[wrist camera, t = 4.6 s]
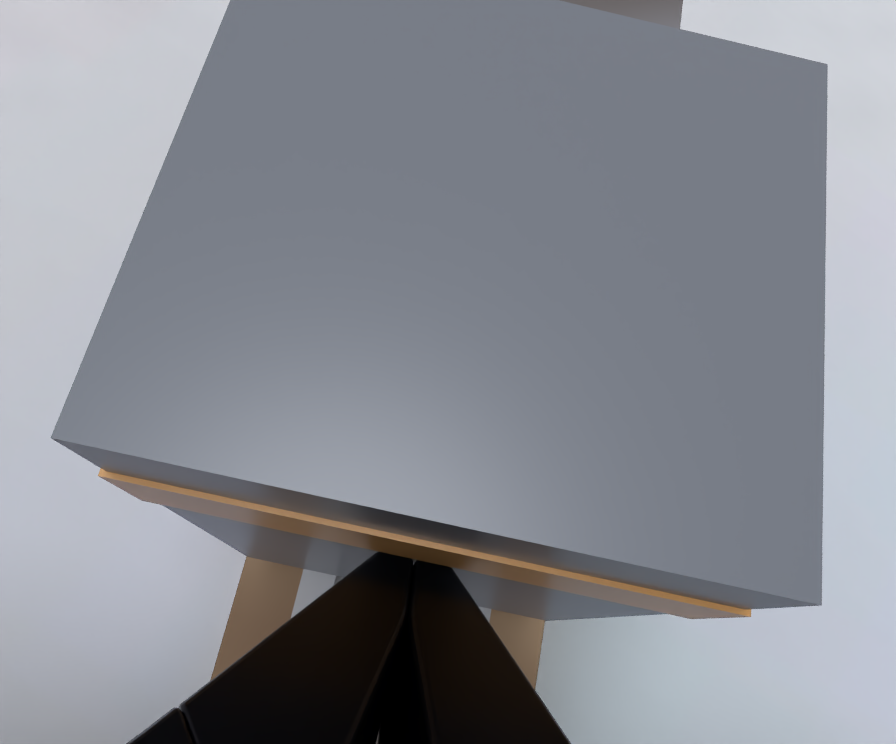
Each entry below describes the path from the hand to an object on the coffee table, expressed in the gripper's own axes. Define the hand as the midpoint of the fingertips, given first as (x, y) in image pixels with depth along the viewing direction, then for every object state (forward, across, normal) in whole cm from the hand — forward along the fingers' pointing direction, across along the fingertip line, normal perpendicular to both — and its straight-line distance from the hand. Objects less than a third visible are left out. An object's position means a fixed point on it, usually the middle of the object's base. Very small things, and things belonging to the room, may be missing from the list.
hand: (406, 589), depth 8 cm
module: (+6, 0, -2) cm, 6 cm away
